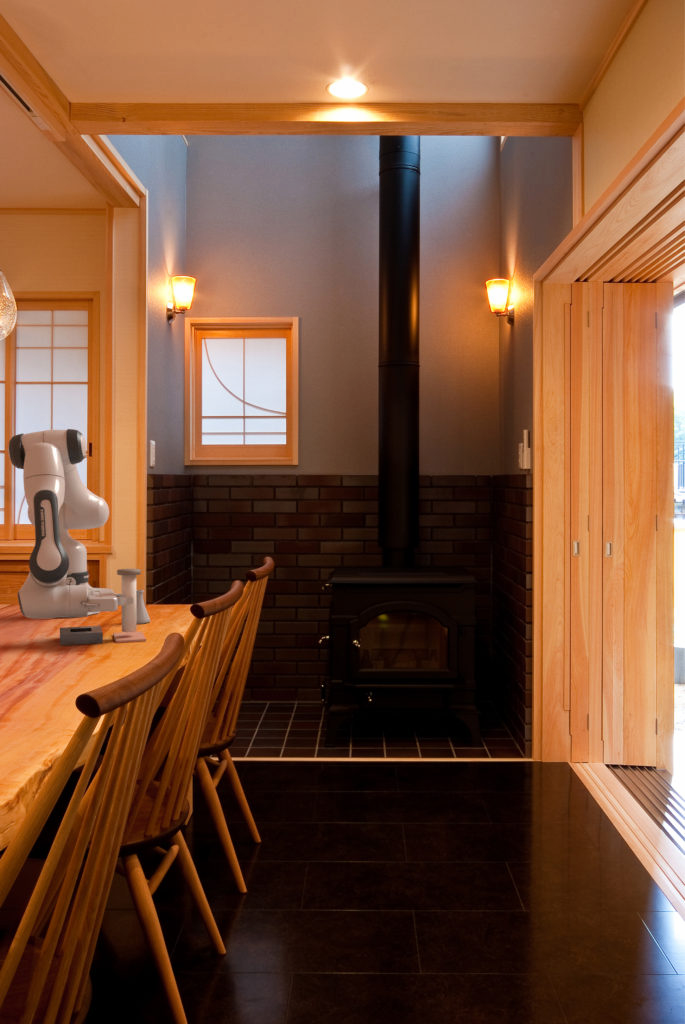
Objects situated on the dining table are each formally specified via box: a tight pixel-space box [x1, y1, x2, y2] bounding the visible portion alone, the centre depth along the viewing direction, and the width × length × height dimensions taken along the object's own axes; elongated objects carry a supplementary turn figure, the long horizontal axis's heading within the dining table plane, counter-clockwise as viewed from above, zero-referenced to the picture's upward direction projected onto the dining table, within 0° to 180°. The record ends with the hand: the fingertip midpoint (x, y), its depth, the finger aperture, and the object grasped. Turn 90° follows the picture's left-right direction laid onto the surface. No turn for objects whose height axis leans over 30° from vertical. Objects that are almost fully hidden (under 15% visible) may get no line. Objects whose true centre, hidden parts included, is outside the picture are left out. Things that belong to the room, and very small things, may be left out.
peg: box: [116, 568, 142, 633], centre depth 243 cm, size 6×6×17 cm
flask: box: [136, 589, 151, 625], centre depth 270 cm, size 7×7×10 cm
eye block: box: [59, 625, 104, 647], centre depth 240 cm, size 11×11×3 cm
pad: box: [112, 631, 147, 644], centre depth 244 cm, size 12×8×1 cm, turn 19°
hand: (132, 598), depth 244 cm, fingers closed on peg, 4 cm apart
